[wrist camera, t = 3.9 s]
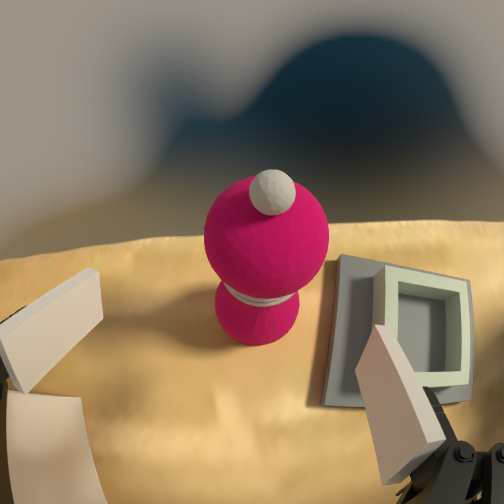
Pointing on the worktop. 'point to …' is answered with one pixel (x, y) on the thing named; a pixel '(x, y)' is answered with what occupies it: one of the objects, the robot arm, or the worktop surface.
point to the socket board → (401, 327)
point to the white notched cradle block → (49, 451)
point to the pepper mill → (263, 254)
